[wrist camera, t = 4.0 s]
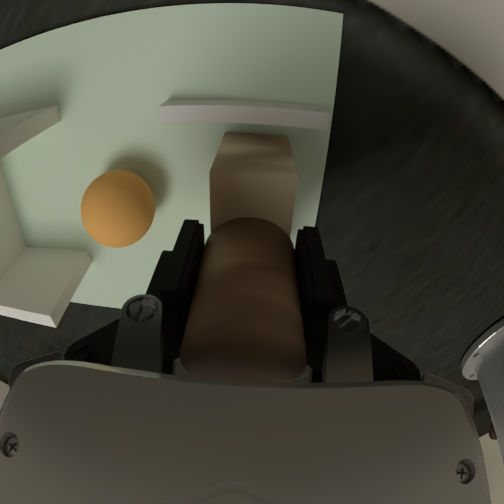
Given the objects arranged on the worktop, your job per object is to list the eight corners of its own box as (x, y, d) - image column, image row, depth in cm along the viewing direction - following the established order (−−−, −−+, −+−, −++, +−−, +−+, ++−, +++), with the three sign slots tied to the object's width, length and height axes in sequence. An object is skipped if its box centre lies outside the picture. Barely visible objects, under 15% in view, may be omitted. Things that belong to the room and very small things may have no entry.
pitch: (338, 15, 12) (391, -1, 6) (294, 311, 24) (300, 393, 18) (-19, 60, 11) (-96, 90, 6) (41, 288, 24) (7, 348, 18)
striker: (293, 136, 14) (333, 276, 7) (280, 252, 19) (288, 414, 11) (218, 132, 14) (161, 267, 6) (219, 248, 19) (192, 408, 11)
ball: (160, 157, 16) (134, 192, 12) (167, 222, 18) (147, 266, 15) (94, 159, 16) (58, 192, 12) (106, 220, 18) (78, 261, 15)
